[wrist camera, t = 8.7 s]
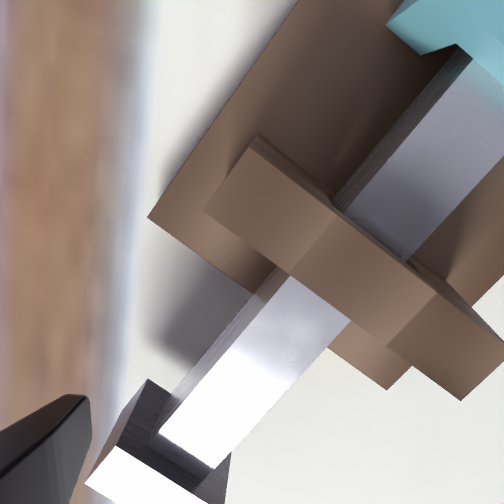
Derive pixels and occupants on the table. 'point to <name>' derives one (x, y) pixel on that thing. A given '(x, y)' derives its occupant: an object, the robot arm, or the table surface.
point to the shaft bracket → (328, 185)
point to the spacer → (454, 28)
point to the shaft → (304, 299)
